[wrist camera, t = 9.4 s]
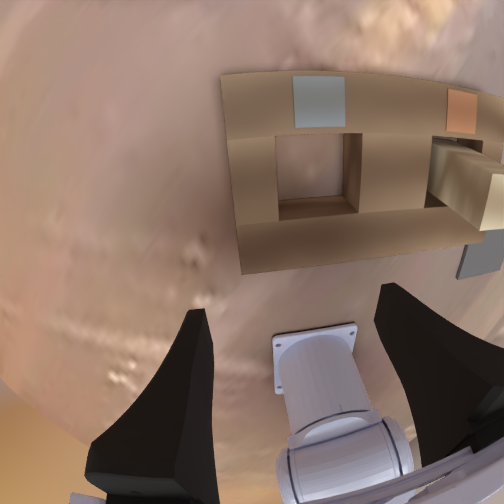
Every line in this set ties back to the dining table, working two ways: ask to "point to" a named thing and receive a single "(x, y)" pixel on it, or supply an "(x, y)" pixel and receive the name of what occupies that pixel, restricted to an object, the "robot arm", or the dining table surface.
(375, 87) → the socket board
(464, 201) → the birch plug
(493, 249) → the mat
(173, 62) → the dining table surface
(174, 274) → the dining table surface
